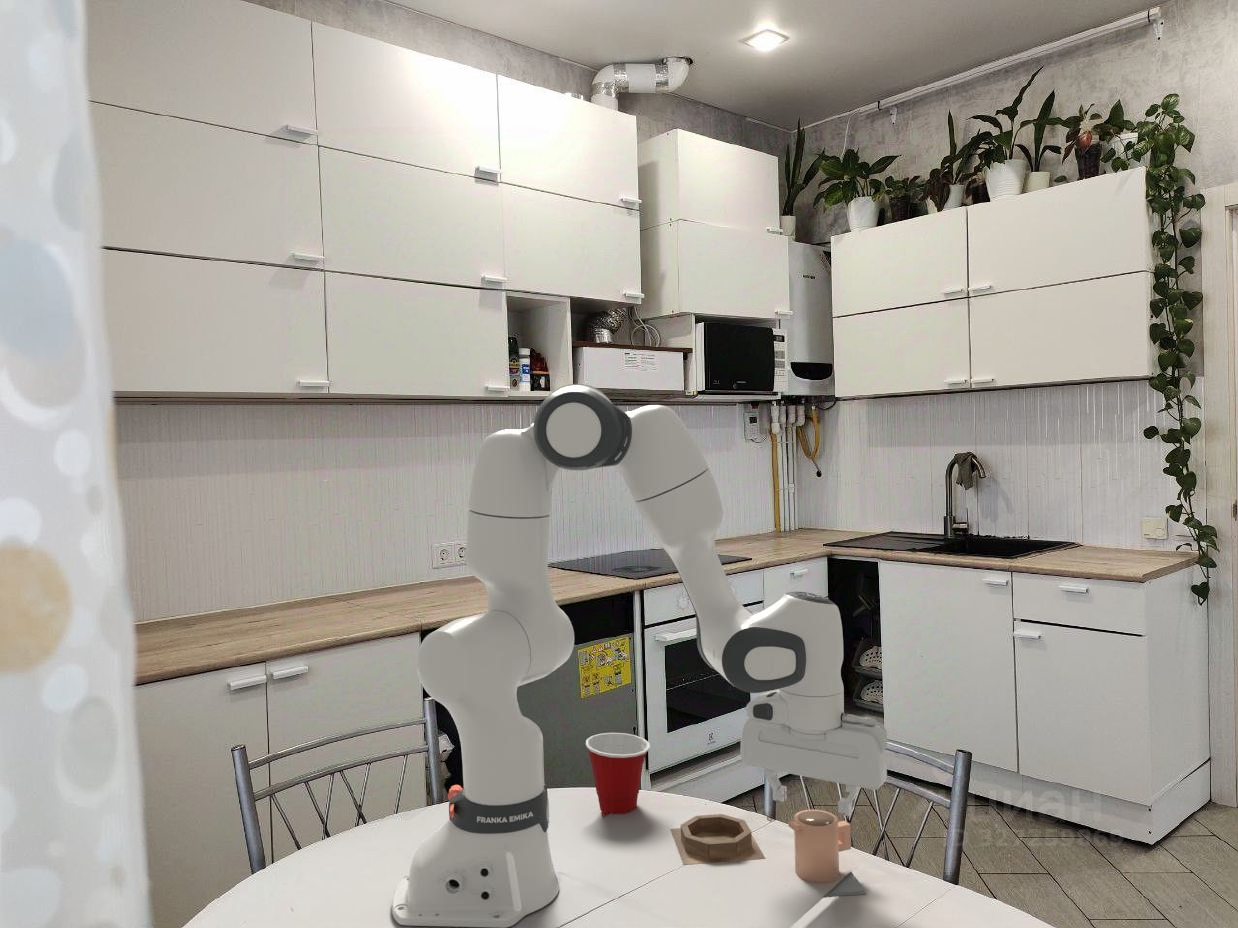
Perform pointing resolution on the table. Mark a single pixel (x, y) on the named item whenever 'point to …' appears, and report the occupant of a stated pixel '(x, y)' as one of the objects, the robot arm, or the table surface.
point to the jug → (819, 844)
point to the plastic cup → (617, 770)
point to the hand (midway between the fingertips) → (811, 806)
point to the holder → (715, 840)
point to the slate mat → (847, 887)
